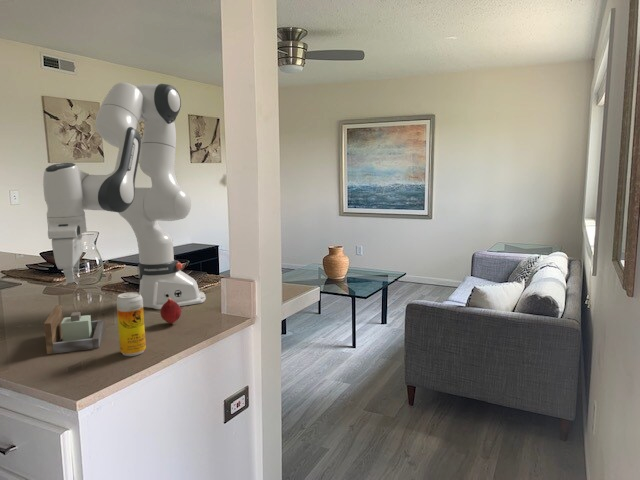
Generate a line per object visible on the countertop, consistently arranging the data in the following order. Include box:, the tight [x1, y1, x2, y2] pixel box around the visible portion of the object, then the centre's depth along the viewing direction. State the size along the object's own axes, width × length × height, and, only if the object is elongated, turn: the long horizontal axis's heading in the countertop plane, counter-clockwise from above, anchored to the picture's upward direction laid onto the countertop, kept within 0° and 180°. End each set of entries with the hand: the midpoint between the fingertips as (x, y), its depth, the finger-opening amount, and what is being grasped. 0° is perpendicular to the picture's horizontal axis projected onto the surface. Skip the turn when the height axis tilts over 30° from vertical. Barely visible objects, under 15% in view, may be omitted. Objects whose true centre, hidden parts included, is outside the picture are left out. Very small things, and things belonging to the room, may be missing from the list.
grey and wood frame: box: [43, 304, 105, 355], centre depth 131 cm, size 12×16×8 cm
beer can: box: [115, 291, 147, 357], centre depth 122 cm, size 6×6×15 cm
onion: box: [160, 298, 182, 325], centre depth 143 cm, size 6×6×8 cm
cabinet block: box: [61, 311, 93, 342], centre depth 131 cm, size 6×5×8 cm
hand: (73, 277), depth 129 cm, fingers open, 8 cm apart
